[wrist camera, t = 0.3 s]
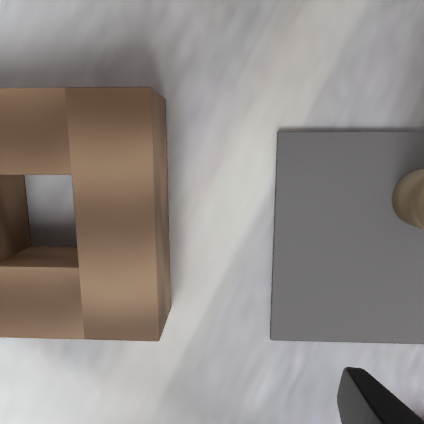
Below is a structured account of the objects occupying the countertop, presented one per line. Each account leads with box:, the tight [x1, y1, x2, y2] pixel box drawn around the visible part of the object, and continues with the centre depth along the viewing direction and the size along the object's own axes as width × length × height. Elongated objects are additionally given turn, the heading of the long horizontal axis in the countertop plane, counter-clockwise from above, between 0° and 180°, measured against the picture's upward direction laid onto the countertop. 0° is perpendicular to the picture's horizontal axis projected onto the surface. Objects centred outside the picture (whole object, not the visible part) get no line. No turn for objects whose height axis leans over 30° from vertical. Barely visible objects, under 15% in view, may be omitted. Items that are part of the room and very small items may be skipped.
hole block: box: [0, 87, 171, 341], centre depth 20 cm, size 14×14×4 cm
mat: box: [270, 132, 424, 344], centre depth 21 cm, size 14×12×1 cm
